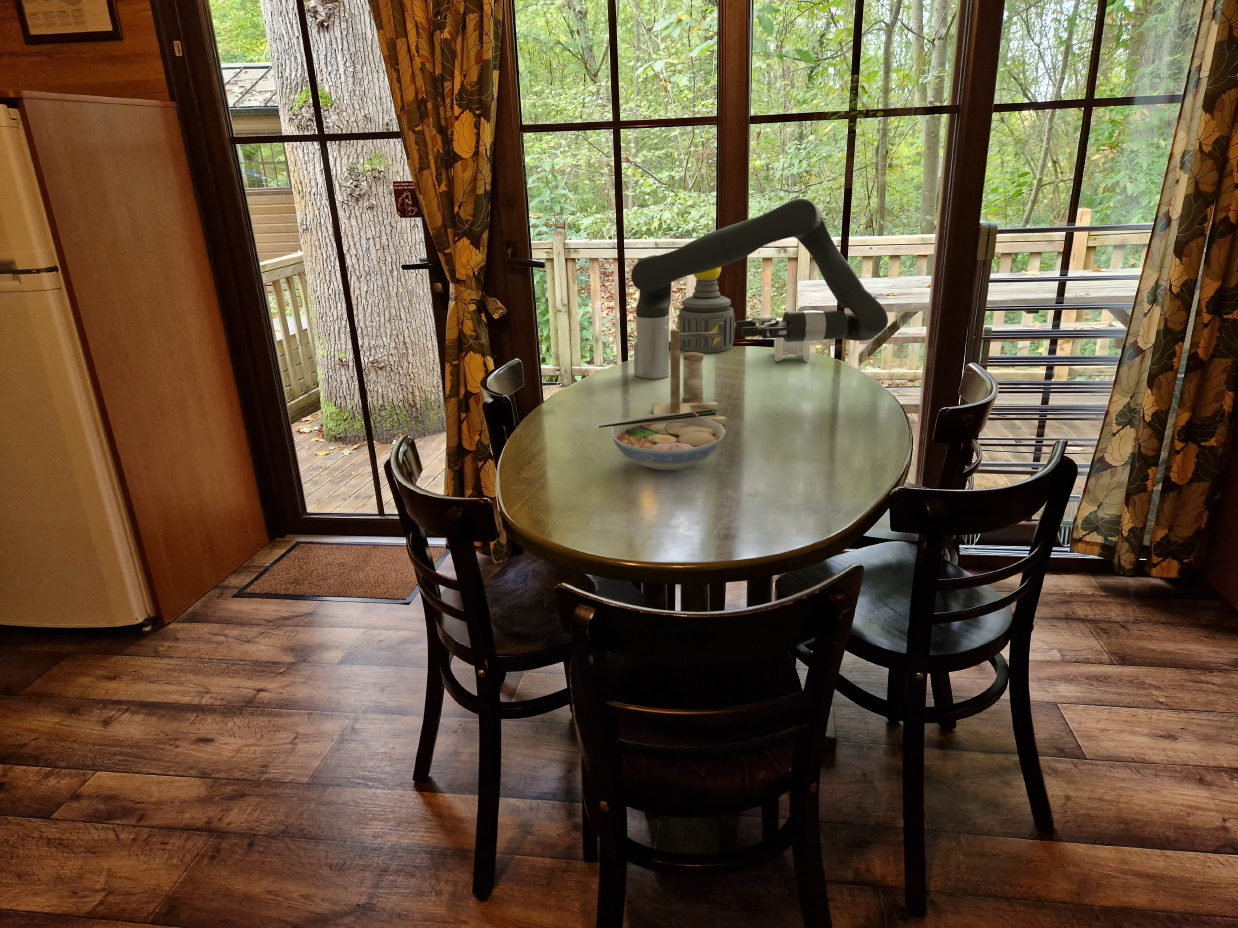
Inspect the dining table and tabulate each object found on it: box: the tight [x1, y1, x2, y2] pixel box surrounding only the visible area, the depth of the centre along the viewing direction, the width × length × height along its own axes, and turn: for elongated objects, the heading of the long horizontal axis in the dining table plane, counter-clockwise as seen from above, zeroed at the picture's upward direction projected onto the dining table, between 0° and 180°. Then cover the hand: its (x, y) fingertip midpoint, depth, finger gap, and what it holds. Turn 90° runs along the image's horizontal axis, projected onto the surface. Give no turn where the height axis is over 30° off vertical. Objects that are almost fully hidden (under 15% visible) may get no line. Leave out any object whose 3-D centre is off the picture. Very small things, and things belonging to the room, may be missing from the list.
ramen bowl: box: [598, 409, 726, 473], centre depth 156 cm, size 25×23×8 cm
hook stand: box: [651, 323, 727, 426], centre depth 183 cm, size 16×14×22 cm
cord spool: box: [682, 351, 705, 403], centre depth 198 cm, size 5×5×12 cm
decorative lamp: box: [675, 267, 736, 354], centre depth 253 cm, size 19×19×30 cm
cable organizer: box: [773, 317, 811, 363], centre depth 239 cm, size 15×11×12 cm
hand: (738, 328), depth 194 cm, fingers open, 8 cm apart
